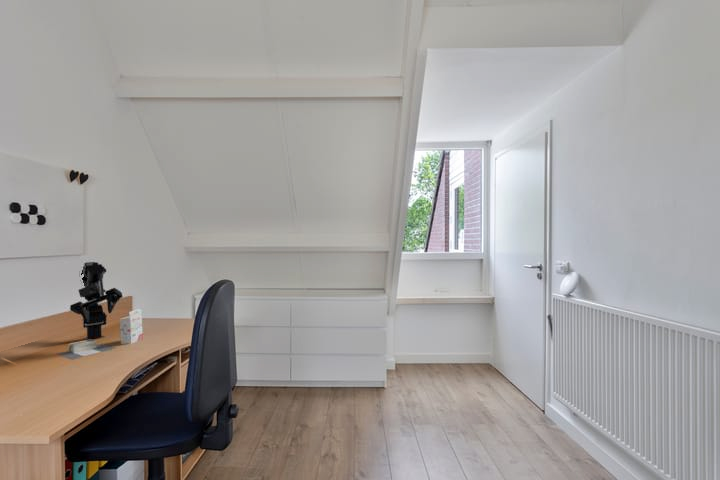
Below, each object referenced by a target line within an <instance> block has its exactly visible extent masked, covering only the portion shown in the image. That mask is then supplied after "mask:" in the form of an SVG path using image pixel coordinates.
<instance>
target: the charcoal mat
mask: <svg viewBox="0 0 720 480" xmlns="http://www.w3.org/2000/svg"><path fill="white" fill-rule="evenodd" d="M115 349H117V347H114V346H111V345H107V344H103V343H98V344H97V343H96V348H94V349H89V350H85V351H80V352H76V353H72V352H69V350H67V351H63V352H59V353H56V355H58V356H61V357H64V358H67V359H69V360H75V359H80V358H84V357H87V356H91V355H96V354H100V353H103V352H108V351H112V350H115Z"/></svg>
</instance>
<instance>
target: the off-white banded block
mask: <svg viewBox="0 0 720 480" xmlns="http://www.w3.org/2000/svg"><path fill="white" fill-rule="evenodd" d="M96 345H97V339H93V340H92V339H88V340H87V339H83V340H80V341H76V342H71V343H68V351H69V352H72V353H76V352H80V351H85V350H89V349H94V348H96Z"/></svg>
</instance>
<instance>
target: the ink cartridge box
mask: <svg viewBox="0 0 720 480" xmlns="http://www.w3.org/2000/svg"><path fill="white" fill-rule="evenodd" d="M128 314H129V316H125V317H121V318H119V326H120V327H119V329H120V330H119V331H120V345H122V344H123V345H125V344H127V345H128V344H130V345H131V344H133V343H136V342H139V340H140V341H142V340H144V338H143V337H144V334H143V314H142V309H141V308H137V309H134V310H131V311H129V312H128Z"/></svg>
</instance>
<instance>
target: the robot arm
mask: <svg viewBox="0 0 720 480" xmlns="http://www.w3.org/2000/svg"><path fill="white" fill-rule="evenodd" d="M82 267H83V270H82V273H81V275H82V274H84V277H83V278H82V280H83V283H84V286H85V287H84V286H83V288H80V289H78V295H79V297H80V298H84V299H85V300H86V301H85V302H82V301H77V302H75V303H72V304H70V306H69V311H71V312H73V313H74V314H77V315H81V317H82V327H83V329H85V328H86V337H84V338H83V340H88V339H92V340H97V339H101V338H105V336H104V335H103V334H102V333H103V331H102V328H103V327H102V326H106V325H107V314H106V313H105V311H104V310H103V309H104V308H103V305H102V304H99V303H102V302H104V301H106V304H107V312H108V313H109V314H112V311H113V310H114V308H115V306H116V304H117V303H118V301H120V299H122V298H123V292H122V291H120V290H119V289H118V288H116V287H113V288H110V289H107V290H106V289H104V281H103V279H104V274H106V273H107V268H106V267H105V266H103V264H101V263H100V264H99V262H95V261H91V262H90V261H88V262H84V264H83V266H82Z"/></svg>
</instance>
